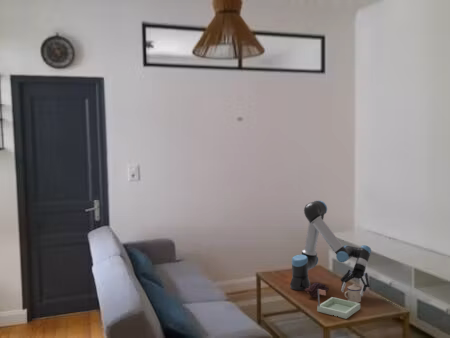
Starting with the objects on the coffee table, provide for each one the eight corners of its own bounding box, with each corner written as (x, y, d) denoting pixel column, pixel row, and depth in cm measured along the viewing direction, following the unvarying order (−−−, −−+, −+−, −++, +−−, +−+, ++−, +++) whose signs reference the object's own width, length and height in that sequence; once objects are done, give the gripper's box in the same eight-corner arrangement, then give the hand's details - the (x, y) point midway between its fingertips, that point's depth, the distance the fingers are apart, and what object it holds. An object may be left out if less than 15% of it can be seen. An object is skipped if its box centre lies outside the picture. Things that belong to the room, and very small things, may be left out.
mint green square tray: (317, 311, 282) (316, 289, 281) (332, 302, 297) (331, 281, 296) (346, 318, 269) (345, 295, 268) (360, 308, 284) (359, 286, 283)
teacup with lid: (356, 297, 304) (356, 280, 303) (364, 301, 295) (363, 284, 294) (341, 299, 300) (340, 283, 300) (348, 304, 292) (348, 287, 291)
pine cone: (326, 293, 314) (325, 279, 314) (332, 297, 305) (331, 283, 304) (302, 295, 311) (302, 281, 310) (308, 300, 301) (307, 286, 301)
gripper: (379, 271, 300) (371, 299, 290) (345, 266, 317) (336, 292, 306) (376, 266, 296) (367, 294, 285) (342, 260, 312) (332, 286, 302)
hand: (351, 293), depth 296 cm, fingers open, 13 cm apart
